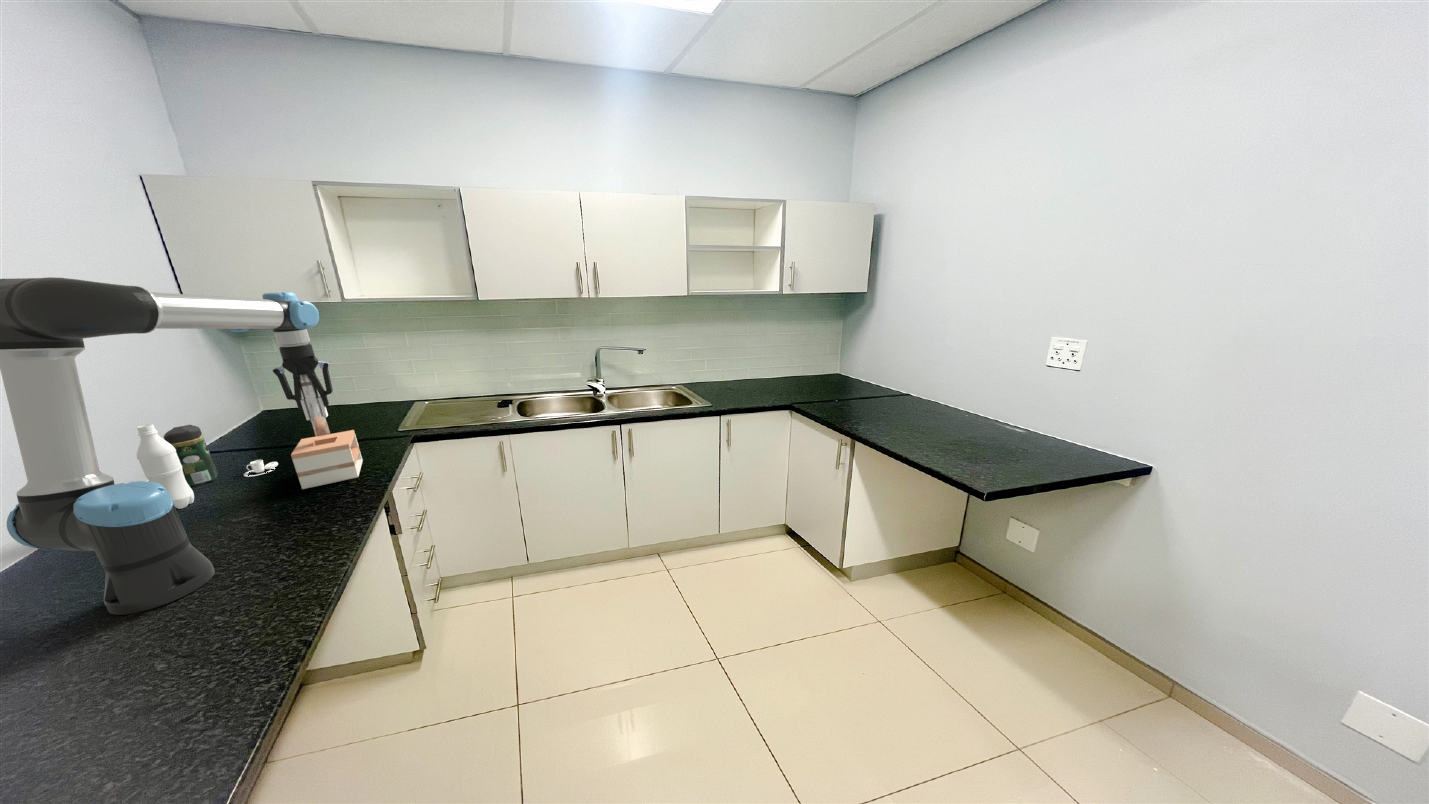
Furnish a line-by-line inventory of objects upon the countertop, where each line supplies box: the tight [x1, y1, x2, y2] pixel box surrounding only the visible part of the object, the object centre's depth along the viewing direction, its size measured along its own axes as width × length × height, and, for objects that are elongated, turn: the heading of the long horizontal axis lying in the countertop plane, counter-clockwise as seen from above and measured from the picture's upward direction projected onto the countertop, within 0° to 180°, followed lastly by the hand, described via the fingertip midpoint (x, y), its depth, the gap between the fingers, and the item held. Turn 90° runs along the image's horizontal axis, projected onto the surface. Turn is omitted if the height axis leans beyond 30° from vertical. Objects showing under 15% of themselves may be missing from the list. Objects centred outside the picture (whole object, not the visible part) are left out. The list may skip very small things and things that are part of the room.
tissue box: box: [290, 429, 364, 490], centre depth 151 cm, size 16×14×12 cm
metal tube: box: [298, 374, 331, 437], centre depth 146 cm, size 4×4×20 cm
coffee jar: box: [163, 424, 219, 487], centre depth 149 cm, size 10×8×19 cm
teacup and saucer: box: [243, 459, 279, 478], centre depth 157 cm, size 9×8×4 cm
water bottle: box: [136, 423, 195, 510], centre depth 131 cm, size 7×7×25 cm
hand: (317, 417), depth 147 cm, fingers closed on metal tube, 3 cm apart
